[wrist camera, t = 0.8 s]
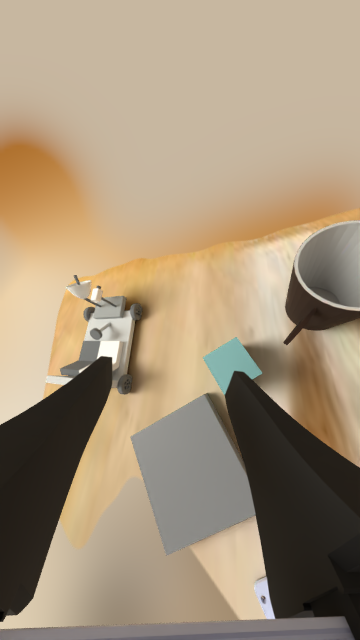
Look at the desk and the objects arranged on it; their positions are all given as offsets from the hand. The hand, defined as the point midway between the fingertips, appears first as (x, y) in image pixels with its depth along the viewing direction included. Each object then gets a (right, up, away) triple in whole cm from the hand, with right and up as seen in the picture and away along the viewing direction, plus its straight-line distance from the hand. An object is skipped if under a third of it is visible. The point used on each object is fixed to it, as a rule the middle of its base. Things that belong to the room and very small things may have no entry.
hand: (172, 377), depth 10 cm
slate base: (+2, -15, +13) cm, 20 cm away
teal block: (+8, -3, +14) cm, 16 cm away
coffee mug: (+17, +4, +13) cm, 22 cm away
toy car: (-12, 0, +23) cm, 26 cm away
